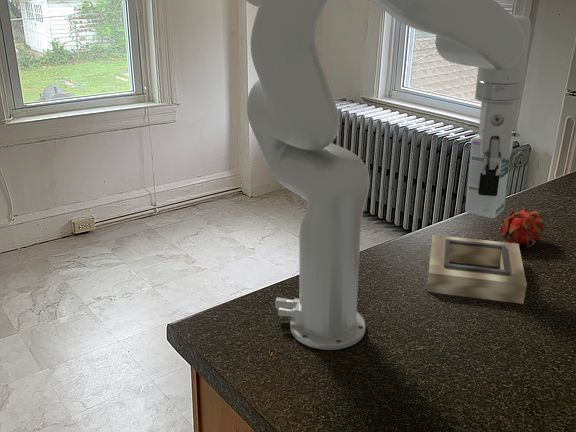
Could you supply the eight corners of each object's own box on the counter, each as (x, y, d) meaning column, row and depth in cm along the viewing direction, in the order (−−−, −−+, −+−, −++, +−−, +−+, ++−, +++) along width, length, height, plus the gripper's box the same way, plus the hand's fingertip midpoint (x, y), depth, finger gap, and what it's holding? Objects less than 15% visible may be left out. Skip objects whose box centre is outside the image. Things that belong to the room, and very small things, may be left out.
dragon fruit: (539, 243, 133) (506, 265, 127) (513, 214, 135) (480, 234, 130) (563, 224, 126) (529, 246, 120) (535, 193, 128) (501, 214, 123)
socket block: (426, 291, 111) (428, 269, 109) (430, 251, 126) (432, 232, 124) (523, 303, 107) (527, 281, 105) (515, 261, 122) (518, 240, 120)
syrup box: (494, 219, 107) (504, 142, 101) (463, 212, 110) (471, 136, 105) (505, 209, 111) (515, 134, 105) (474, 202, 115) (483, 129, 109)
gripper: (526, 103, 93) (511, 207, 100) (517, 81, 109) (505, 173, 116) (477, 101, 95) (465, 203, 102) (474, 80, 110) (465, 170, 118)
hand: (486, 186), depth 109 cm, fingers closed on syrup box, 7 cm apart
